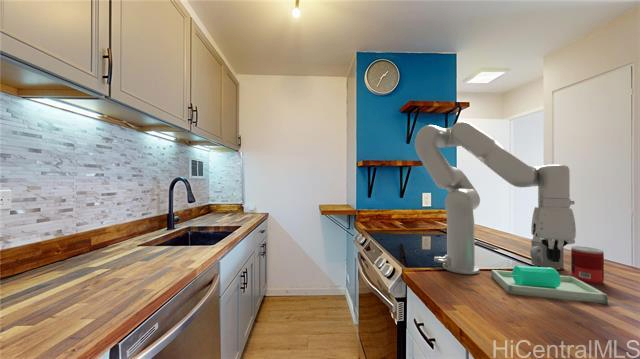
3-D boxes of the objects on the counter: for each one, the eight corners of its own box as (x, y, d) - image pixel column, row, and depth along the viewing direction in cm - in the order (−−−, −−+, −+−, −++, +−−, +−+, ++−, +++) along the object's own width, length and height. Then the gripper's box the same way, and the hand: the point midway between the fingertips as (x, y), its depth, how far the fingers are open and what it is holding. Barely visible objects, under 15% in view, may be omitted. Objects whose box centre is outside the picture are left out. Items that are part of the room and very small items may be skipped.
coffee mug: (546, 261, 113) (546, 238, 113) (570, 269, 103) (570, 243, 103) (518, 262, 112) (517, 238, 112) (539, 270, 102) (539, 244, 102)
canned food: (610, 285, 87) (610, 252, 87) (582, 283, 89) (582, 251, 89) (591, 277, 94) (591, 246, 95) (565, 275, 96) (565, 245, 96)
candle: (549, 286, 85) (508, 283, 87) (546, 267, 87) (506, 265, 89) (562, 288, 80) (518, 286, 82) (558, 268, 81) (515, 265, 83)
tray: (509, 293, 80) (508, 285, 80) (491, 276, 95) (491, 269, 95) (607, 303, 74) (607, 295, 74) (572, 283, 88) (572, 276, 88)
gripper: (574, 203, 85) (574, 259, 85) (520, 202, 89) (520, 255, 89) (590, 205, 78) (590, 266, 78) (531, 203, 82) (531, 262, 82)
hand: (553, 260), depth 84 cm, fingers closed
